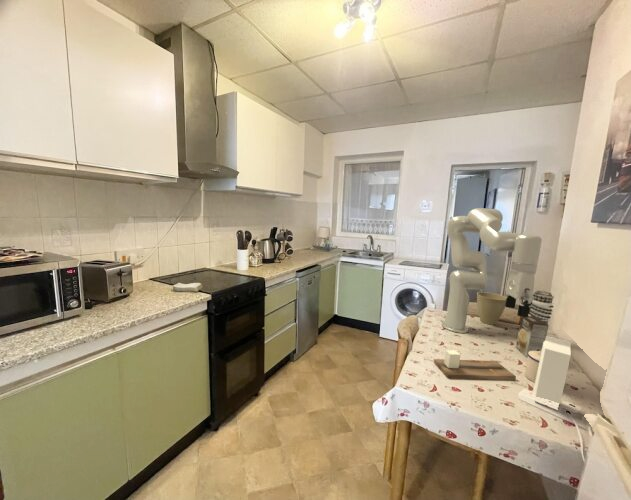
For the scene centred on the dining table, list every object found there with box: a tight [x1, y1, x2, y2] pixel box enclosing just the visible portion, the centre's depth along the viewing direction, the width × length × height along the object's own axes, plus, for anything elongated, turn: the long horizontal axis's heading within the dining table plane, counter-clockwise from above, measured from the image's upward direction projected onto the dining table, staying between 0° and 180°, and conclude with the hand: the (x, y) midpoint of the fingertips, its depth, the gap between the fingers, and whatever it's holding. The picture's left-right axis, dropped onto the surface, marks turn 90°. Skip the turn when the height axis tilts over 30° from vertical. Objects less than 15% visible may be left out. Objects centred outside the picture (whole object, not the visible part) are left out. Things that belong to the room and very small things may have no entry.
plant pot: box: [476, 291, 507, 326], centre depth 151 cm, size 15×15×16 cm
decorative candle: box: [528, 290, 555, 325], centre depth 131 cm, size 9×9×25 cm
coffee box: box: [515, 316, 549, 358], centre depth 117 cm, size 9×6×16 cm
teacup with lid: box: [524, 350, 542, 383], centre depth 99 cm, size 12×9×12 cm
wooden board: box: [433, 358, 517, 381], centre depth 101 cm, size 10×26×2 cm, turn 93°
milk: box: [532, 335, 572, 405], centre depth 84 cm, size 6×6×22 cm
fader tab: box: [444, 349, 461, 368], centre depth 100 cm, size 3×4×6 cm
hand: (515, 311), depth 100 cm, fingers open, 9 cm apart
